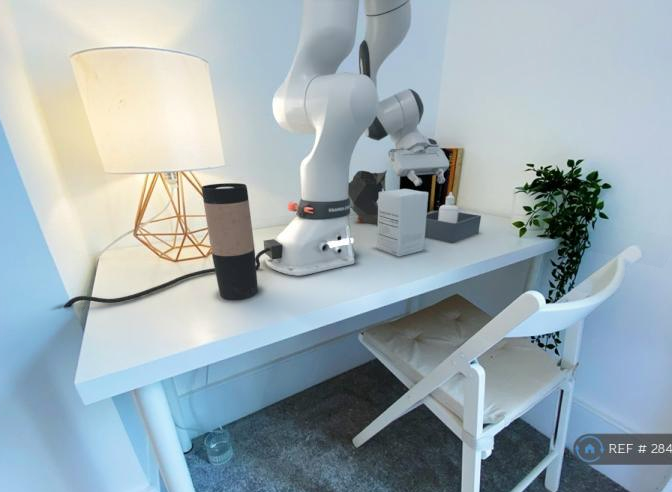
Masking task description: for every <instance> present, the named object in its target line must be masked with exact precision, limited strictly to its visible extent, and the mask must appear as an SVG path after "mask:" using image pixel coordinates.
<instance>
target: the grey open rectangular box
mask: <svg viewBox="0 0 672 492" xmlns="http://www.w3.org/2000/svg"><path fill="white" fill-rule="evenodd" d="M438 215H439V210H436V211H432V212H429V213H428V212H427V216H426V228H425V238H428V239H432V240H437V241H442V242H446V243H450V244H454V243H456V242H459V241H461V240H464V239H467V238H470V237H472V236H475V235H478V234H479V231H480V225H481V219H482V215H479V214H473V213H468V212H467V213H466V212H460V211H459V212H458V220H457V223H450V222H444V221H438Z"/></svg>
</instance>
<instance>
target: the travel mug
mask: <svg viewBox="0 0 672 492" xmlns="http://www.w3.org/2000/svg"><path fill="white" fill-rule="evenodd" d="M201 193H202V200H203V206H204V207H203V208H204V213H205V220H206V227H207V232H208V238H209V247H210V251H211V256H212V263H213V268H215V272H214V273H215V277H216V282H217V287H218V292H219V296H220V297H221V298H222V299H224V300H228V301H240V300H246V299H249V298H252V297H253V296H255V295H256V294H257V293H258V289H259V288H258V287H259V286H258V276H257V274H258V273H257V270H256V265H257V264H256V260H255V258H256V251H255V240H254V233H253V225H252V217H251V209H250V208H251V207H250V199H249V192H248V187H247V185H246V184H245V183H237V182H226V183H211V184H206V185H205V184H204V185H202V186H201Z"/></svg>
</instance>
